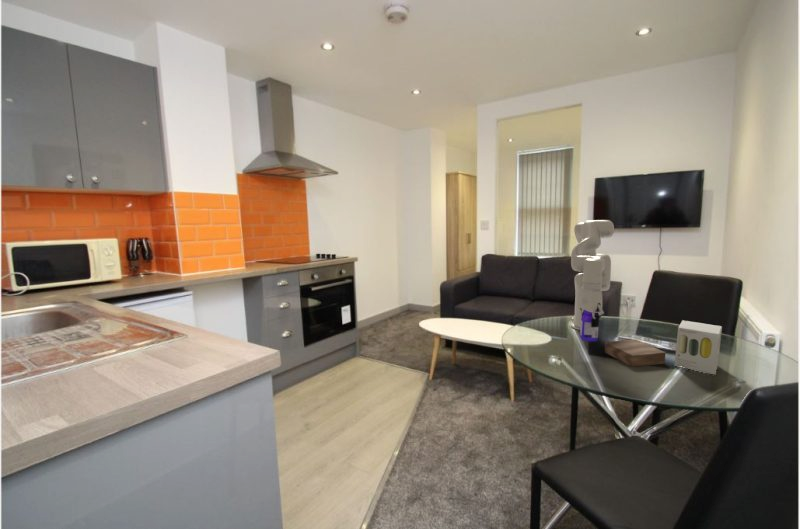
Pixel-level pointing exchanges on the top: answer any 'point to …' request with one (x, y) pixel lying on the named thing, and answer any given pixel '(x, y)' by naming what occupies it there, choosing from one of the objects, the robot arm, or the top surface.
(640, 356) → the plinth
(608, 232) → the robot arm
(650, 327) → the top surface
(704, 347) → the supplement box
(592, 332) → the bottle
